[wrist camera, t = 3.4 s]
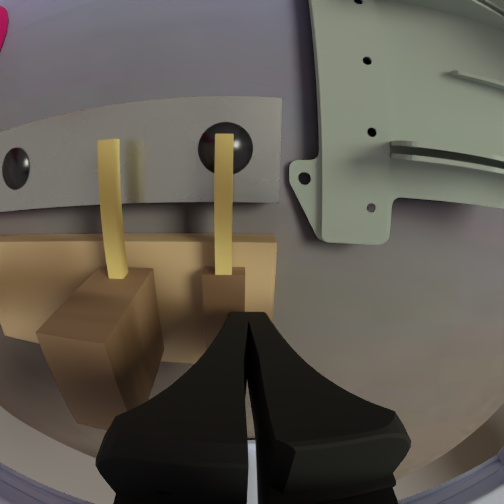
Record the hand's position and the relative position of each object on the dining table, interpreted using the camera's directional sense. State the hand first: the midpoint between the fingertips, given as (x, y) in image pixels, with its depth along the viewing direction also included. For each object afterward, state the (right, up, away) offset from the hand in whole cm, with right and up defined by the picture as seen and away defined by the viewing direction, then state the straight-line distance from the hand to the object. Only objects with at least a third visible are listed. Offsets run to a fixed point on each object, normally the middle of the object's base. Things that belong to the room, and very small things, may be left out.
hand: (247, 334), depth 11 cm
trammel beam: (-7, +3, +2) cm, 8 cm away
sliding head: (-5, +3, 0) cm, 6 cm away
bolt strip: (-7, +7, 0) cm, 10 cm away
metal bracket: (+9, +11, 0) cm, 14 cm away
